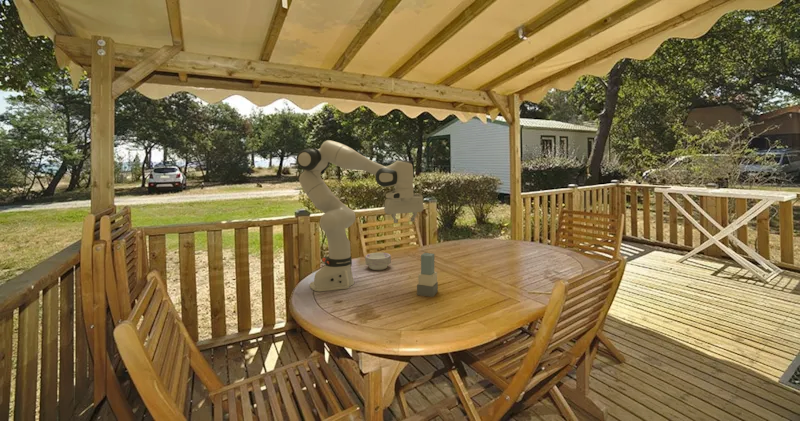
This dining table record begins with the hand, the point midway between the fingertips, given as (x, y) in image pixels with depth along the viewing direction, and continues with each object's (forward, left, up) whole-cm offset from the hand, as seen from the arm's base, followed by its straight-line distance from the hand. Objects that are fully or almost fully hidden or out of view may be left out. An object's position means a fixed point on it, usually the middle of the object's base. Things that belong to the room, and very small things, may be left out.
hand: (404, 222), depth 178 cm
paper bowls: (+3, +38, -33) cm, 51 cm away
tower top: (+6, -12, -28) cm, 31 cm away
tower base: (+6, -12, -33) cm, 36 cm away
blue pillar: (+6, -12, -23) cm, 27 cm away
